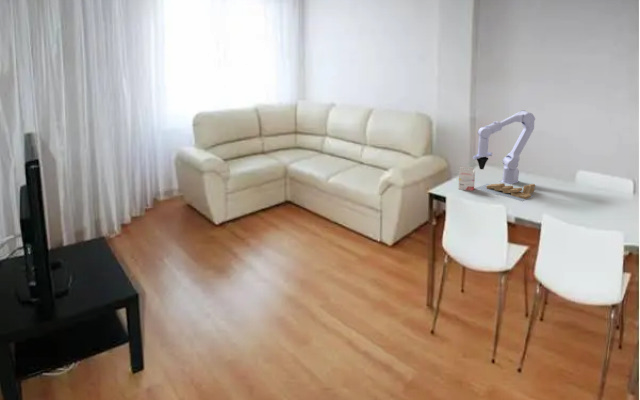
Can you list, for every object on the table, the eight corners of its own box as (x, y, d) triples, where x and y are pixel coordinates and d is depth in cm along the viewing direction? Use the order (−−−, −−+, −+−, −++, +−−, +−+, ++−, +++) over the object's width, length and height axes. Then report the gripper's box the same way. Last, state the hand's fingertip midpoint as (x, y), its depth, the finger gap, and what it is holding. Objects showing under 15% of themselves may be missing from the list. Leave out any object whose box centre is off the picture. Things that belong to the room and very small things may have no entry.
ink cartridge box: (474, 189, 287) (475, 165, 282) (472, 191, 283) (474, 167, 278) (459, 187, 291) (461, 164, 286) (458, 189, 287) (459, 166, 282)
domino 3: (502, 190, 276) (516, 189, 268) (507, 188, 279) (521, 187, 271) (503, 193, 276) (516, 192, 269) (508, 191, 279) (522, 190, 271)
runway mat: (487, 184, 293) (487, 183, 293) (534, 196, 269) (534, 196, 269) (475, 188, 287) (475, 188, 287) (521, 202, 263) (522, 201, 263)
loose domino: (523, 186, 270) (532, 183, 276) (522, 194, 272) (531, 192, 277) (526, 186, 269) (535, 184, 274) (525, 195, 271) (533, 192, 276)
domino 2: (494, 188, 280) (507, 187, 273) (499, 186, 283) (512, 185, 275) (494, 190, 281) (508, 190, 273) (499, 188, 283) (513, 188, 276)
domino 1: (486, 186, 285) (499, 185, 277) (491, 184, 287) (504, 183, 280) (486, 188, 285) (499, 187, 277) (491, 186, 287) (504, 185, 280)
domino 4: (511, 192, 272) (525, 196, 265) (516, 190, 274) (530, 194, 267) (511, 195, 272) (525, 199, 265) (516, 193, 275) (530, 197, 268)
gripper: (479, 150, 281) (478, 172, 286) (496, 146, 288) (495, 168, 292) (470, 148, 287) (469, 170, 292) (487, 144, 294) (486, 165, 298)
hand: (481, 169), depth 292 cm, fingers closed
